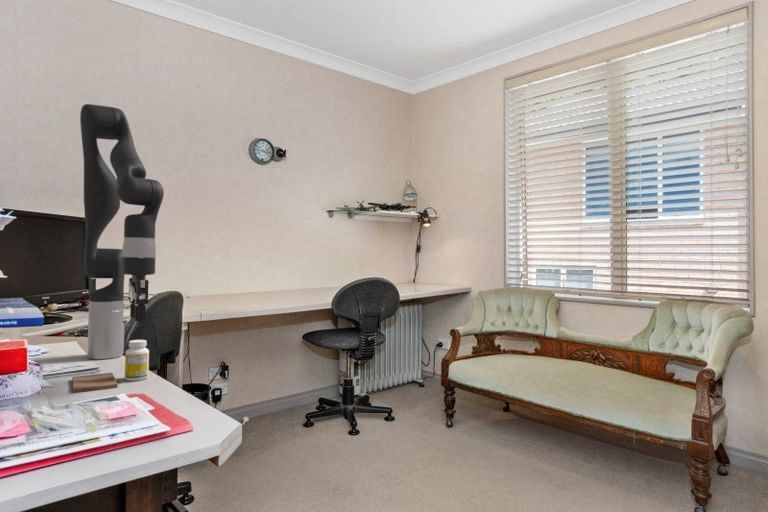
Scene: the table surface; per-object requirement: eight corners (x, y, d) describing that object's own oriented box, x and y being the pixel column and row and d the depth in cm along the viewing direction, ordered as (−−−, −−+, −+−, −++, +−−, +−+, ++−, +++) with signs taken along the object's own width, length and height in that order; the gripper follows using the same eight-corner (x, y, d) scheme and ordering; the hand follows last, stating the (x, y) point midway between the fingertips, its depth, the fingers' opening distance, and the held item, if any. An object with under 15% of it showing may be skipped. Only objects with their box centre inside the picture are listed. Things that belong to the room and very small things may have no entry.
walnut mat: (72, 380, 116) (72, 376, 116) (112, 375, 121) (112, 372, 121) (73, 392, 105) (73, 389, 105) (117, 387, 110) (117, 384, 110)
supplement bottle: (143, 381, 116) (144, 342, 116) (120, 381, 116) (121, 342, 116) (152, 376, 121) (152, 339, 122) (130, 376, 121) (131, 339, 121)
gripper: (119, 255, 122) (117, 317, 122) (126, 255, 111) (124, 323, 111) (150, 256, 127) (148, 316, 126) (160, 256, 115) (158, 321, 115)
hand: (137, 319), depth 118 cm, fingers open, 8 cm apart
